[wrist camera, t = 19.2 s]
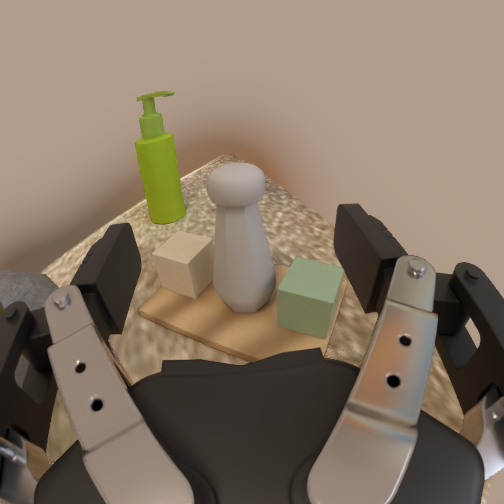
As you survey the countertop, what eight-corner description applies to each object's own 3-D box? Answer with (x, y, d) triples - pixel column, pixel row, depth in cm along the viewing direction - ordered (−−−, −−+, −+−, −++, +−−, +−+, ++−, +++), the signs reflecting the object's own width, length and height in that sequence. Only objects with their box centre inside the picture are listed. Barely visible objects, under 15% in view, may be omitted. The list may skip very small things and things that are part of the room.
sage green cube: (276, 326, 25) (276, 288, 22) (293, 293, 28) (295, 256, 25) (325, 340, 23) (333, 303, 20) (337, 304, 26) (344, 267, 24)
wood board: (141, 316, 27) (138, 309, 27) (202, 252, 36) (201, 246, 36) (313, 382, 21) (315, 376, 20) (346, 287, 29) (347, 280, 29)
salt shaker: (237, 272, 31) (224, 153, 23) (286, 288, 28) (287, 160, 21) (205, 307, 27) (178, 176, 19) (258, 329, 24) (248, 186, 17)
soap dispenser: (182, 225, 42) (160, 91, 31) (144, 223, 44) (119, 100, 32) (196, 207, 47) (180, 87, 35) (161, 206, 48) (141, 94, 37)
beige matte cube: (162, 287, 29) (151, 253, 27) (185, 263, 33) (178, 230, 30) (195, 299, 28) (187, 263, 25) (218, 273, 31) (213, 238, 28)
